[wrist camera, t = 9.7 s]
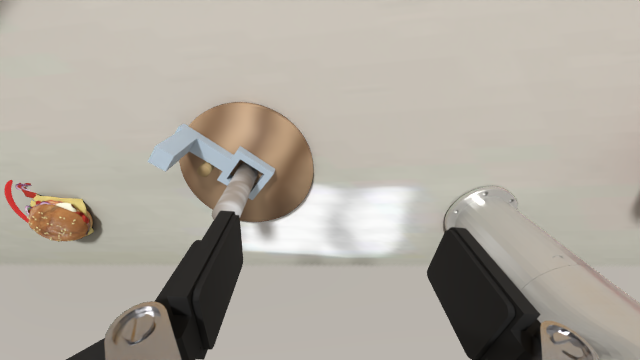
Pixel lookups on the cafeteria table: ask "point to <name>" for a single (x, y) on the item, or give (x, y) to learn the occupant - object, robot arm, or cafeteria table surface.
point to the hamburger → (53, 215)
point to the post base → (261, 145)
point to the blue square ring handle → (207, 156)
